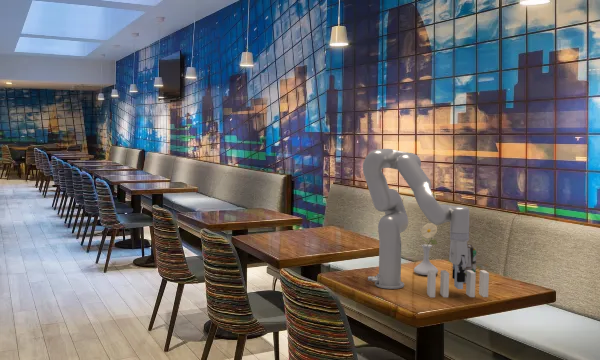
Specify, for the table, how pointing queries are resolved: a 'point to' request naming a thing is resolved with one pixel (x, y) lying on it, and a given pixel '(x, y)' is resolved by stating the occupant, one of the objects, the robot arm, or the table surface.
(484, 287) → the domino
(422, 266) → the flower in vase
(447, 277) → the domino
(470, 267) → the coffee box
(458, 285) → the domino
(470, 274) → the domino
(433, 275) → the domino
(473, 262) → the beverage can
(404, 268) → the table surface
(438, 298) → the table surface
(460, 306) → the table surface
